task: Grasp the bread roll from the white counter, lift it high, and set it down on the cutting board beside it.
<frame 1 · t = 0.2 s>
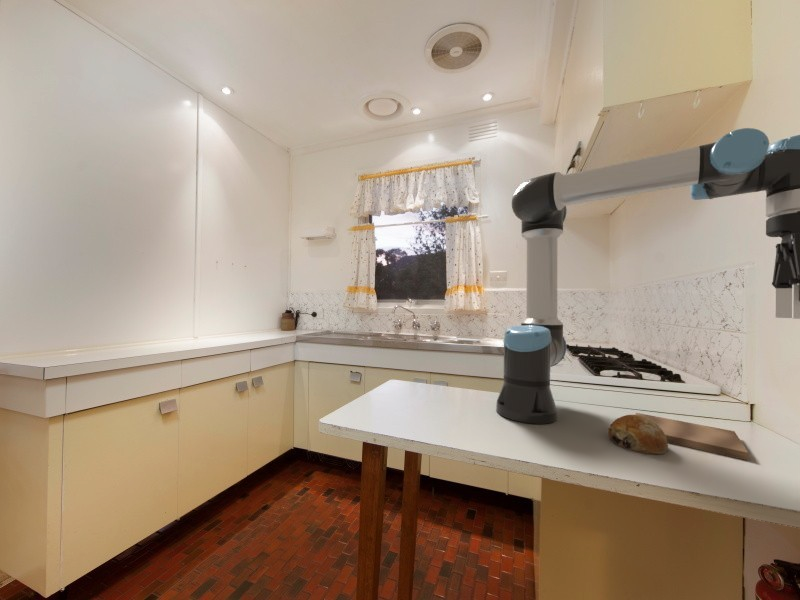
hand: (793, 318, 64), 28 cm above the countertop, fingers open, 13 cm apart
bread roll: (636, 446, 67), on the countertop
cutting board: (683, 436, 72), on the countertop
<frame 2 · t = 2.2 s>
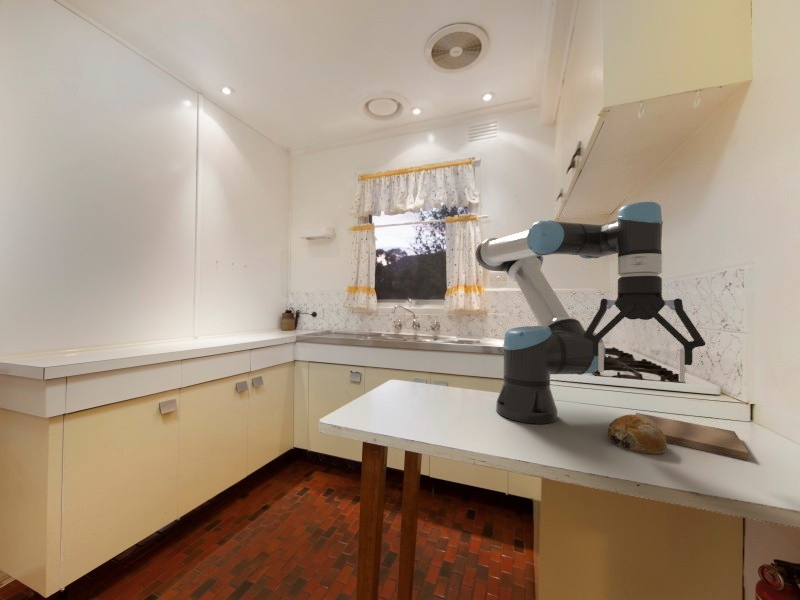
hand: (638, 375, 67), 15 cm above the countertop, fingers open, 13 cm apart
nothing on the countertop moved.
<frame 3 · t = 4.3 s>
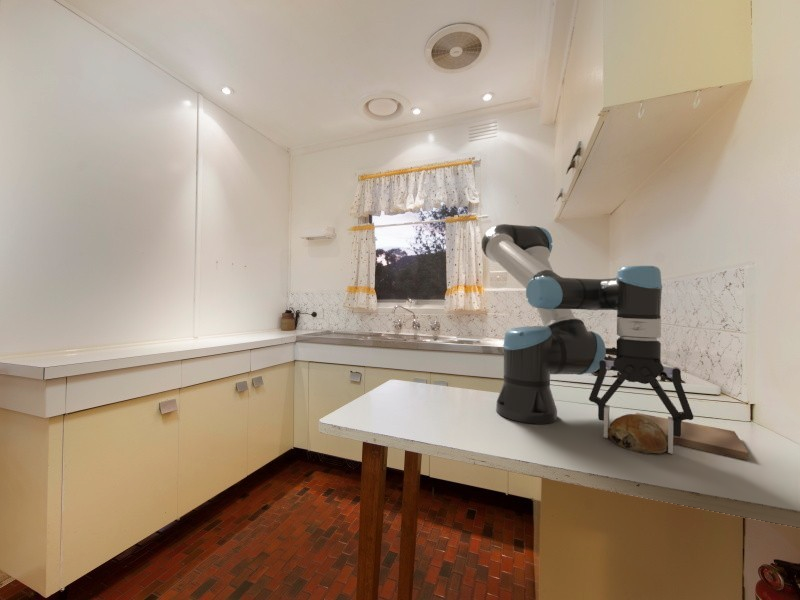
hand: (636, 442, 67), 0 cm above the countertop, fingers closed on bread roll, 10 cm apart
bread roll: (636, 445, 67), on the countertop, touching gripper
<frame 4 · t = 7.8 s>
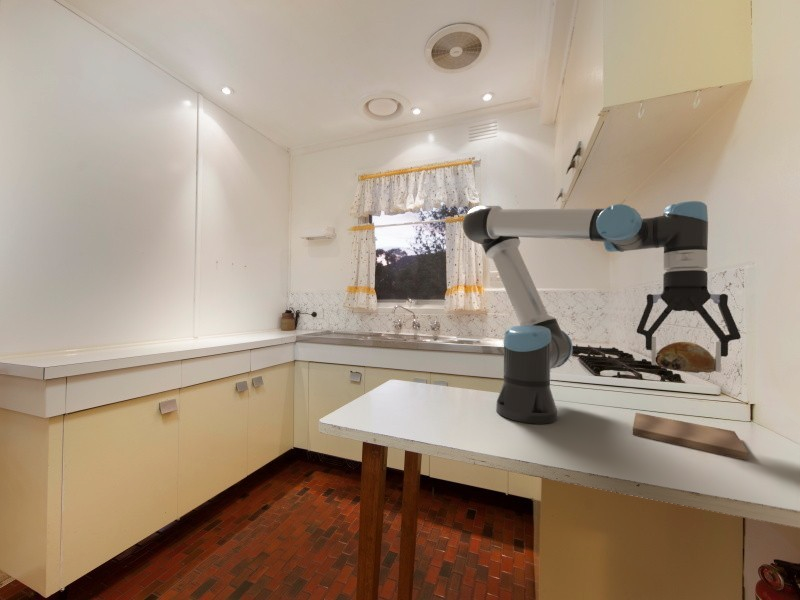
hand: (683, 367, 72), 16 cm above the countertop, fingers closed on bread roll, 10 cm apart
bread roll: (683, 369, 72), point 15 cm above the countertop, touching gripper
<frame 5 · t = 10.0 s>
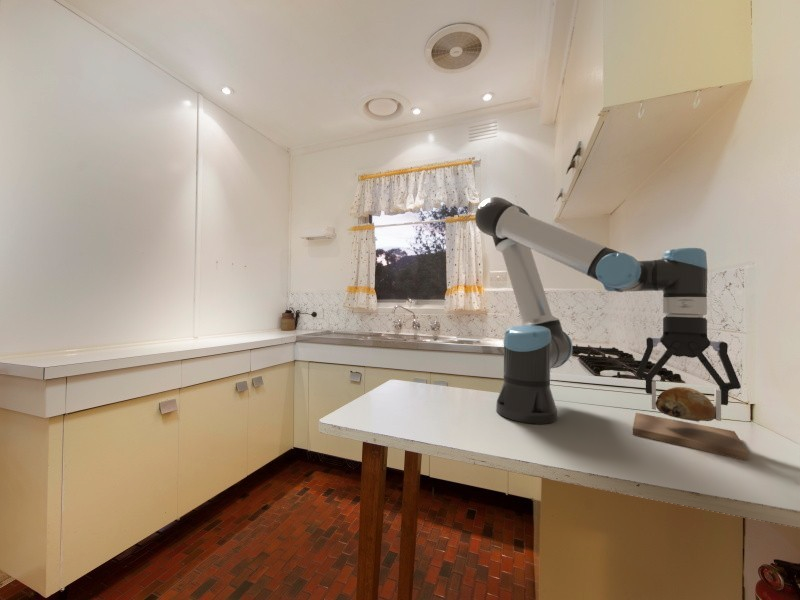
hand: (684, 413, 72), 5 cm above the countertop, fingers closed on bread roll, 10 cm apart
bread roll: (683, 415, 72), point 5 cm above the countertop, touching gripper
when the fingers open (3 cm above the countertop, at t = 11.7 s): bread roll stays where it is, resting on cutting board.
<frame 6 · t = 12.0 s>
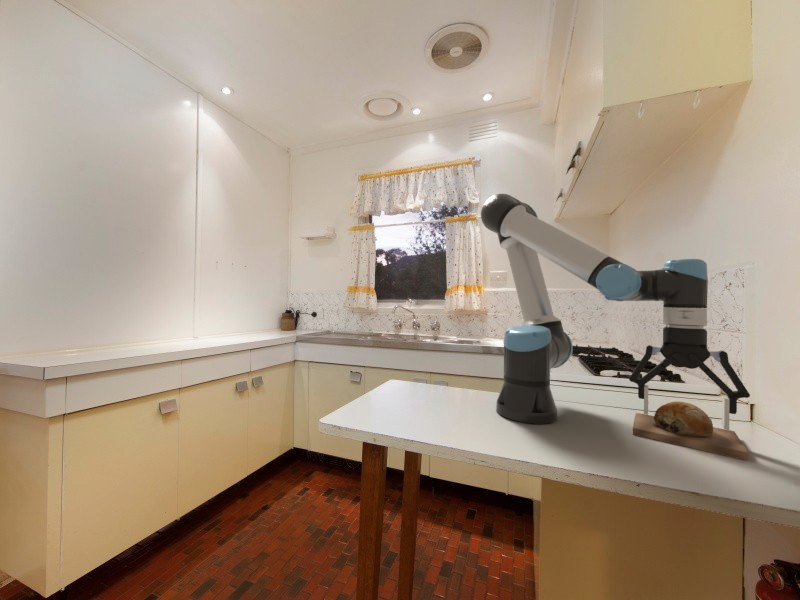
hand: (683, 420, 72), 4 cm above the countertop, fingers open, 13 cm apart
bread roll: (682, 430, 72), point 1 cm above the countertop, touching cutting board
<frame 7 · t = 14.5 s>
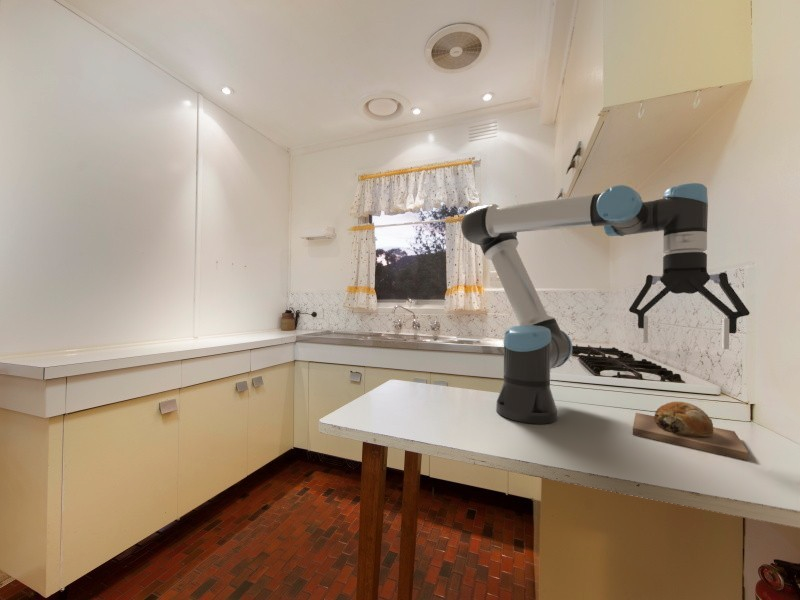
hand: (683, 345, 72), 21 cm above the countertop, fingers open, 13 cm apart
nothing on the countertop moved.
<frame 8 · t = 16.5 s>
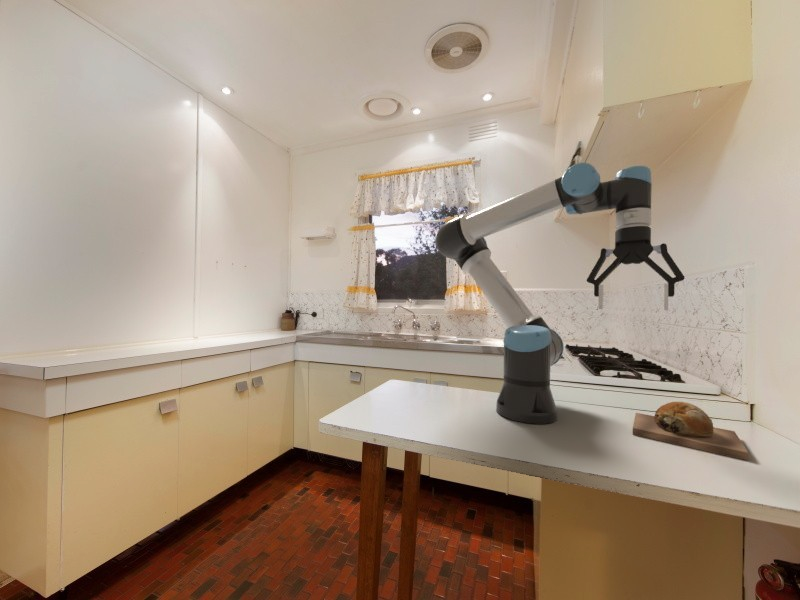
hand: (631, 309, 82), 29 cm above the countertop, fingers open, 13 cm apart
nothing on the countertop moved.
at the end: bread roll inside the target area on the cutting board (0.4 cm from its centre), point 1.3 cm above the cutting board's base; bread roll tilted 0°; the gripper is holding nothing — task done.
